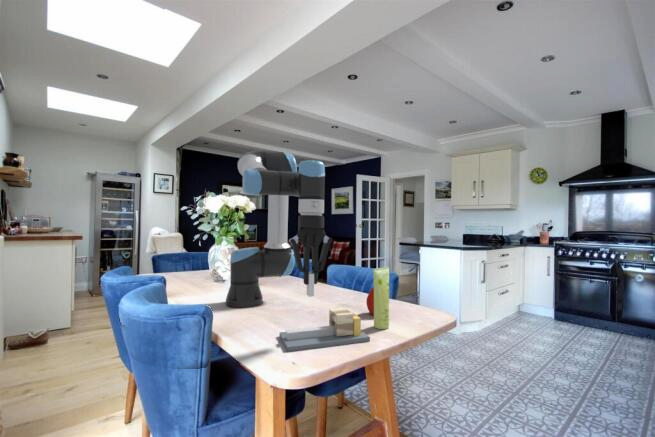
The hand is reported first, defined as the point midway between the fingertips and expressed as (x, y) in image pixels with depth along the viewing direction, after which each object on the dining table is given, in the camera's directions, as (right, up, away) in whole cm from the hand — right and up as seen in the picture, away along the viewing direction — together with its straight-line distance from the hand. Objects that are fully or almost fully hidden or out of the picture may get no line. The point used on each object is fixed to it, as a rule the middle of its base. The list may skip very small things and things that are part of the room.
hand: (310, 295), depth 92 cm
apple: (+24, -14, +26) cm, 38 cm away
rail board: (+4, -13, 0) cm, 13 cm away
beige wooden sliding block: (+9, -11, +2) cm, 15 cm away
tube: (+23, -13, +11) cm, 28 cm away
